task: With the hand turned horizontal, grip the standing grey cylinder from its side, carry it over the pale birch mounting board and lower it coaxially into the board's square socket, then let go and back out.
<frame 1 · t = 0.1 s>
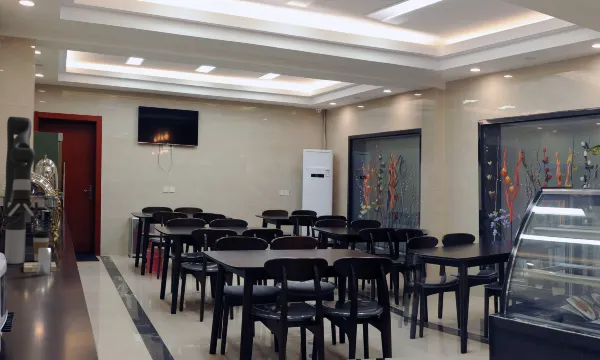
hand: (20, 224, 265), 22 cm above the table, tool pointing down, fingers open, 8 cm apart
grey cylinder: (43, 274, 263), on the table
mounting board: (39, 269, 277), on the table
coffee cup: (40, 260, 309), on the table
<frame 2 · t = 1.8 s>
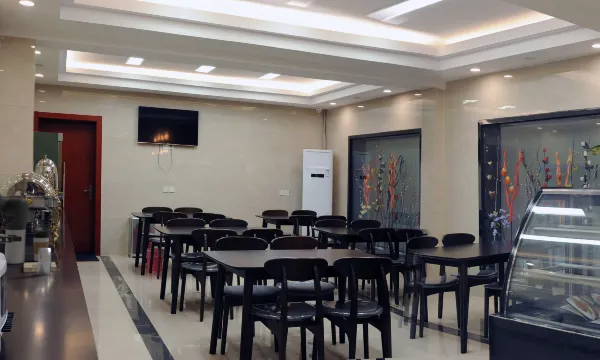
hand: (18, 238, 256), 17 cm above the table, tool horizontal, fingers open, 8 cm apart
nothing on the table moved.
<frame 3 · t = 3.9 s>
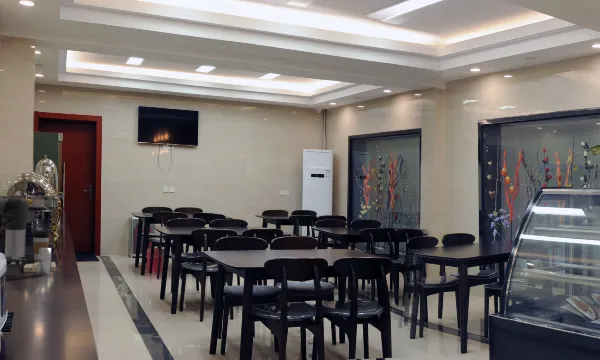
hand: (31, 260, 259), 7 cm above the table, tool horizontal, fingers open, 8 cm apart
nothing on the table moved.
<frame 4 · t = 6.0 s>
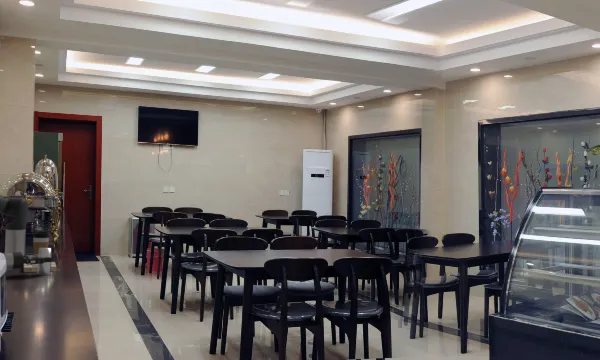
hand: (50, 258, 265), 7 cm above the table, tool horizontal, fingers closed on grey cylinder, 5 cm apart
grey cylinder: (43, 274, 263), on the table, touching gripper
everything else where it was.
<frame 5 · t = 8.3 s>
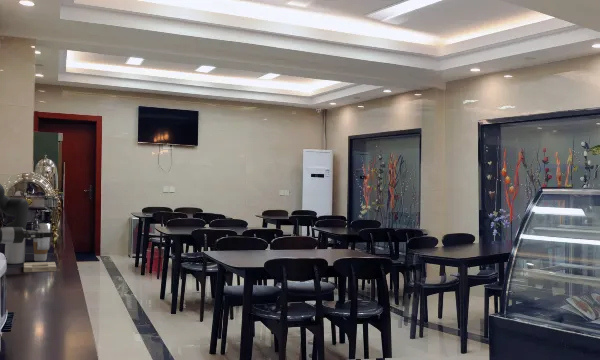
hand: (49, 234, 274), 18 cm above the table, tool horizontal, fingers closed on grey cylinder, 5 cm apart
grey cylinder: (43, 249, 272), point 10 cm above the table, touching gripper
everything else where it was.
when the fingers open (8 cm above the table, at t = 11.0 s): grey cylinder drops 1 cm, resting in mounting board.
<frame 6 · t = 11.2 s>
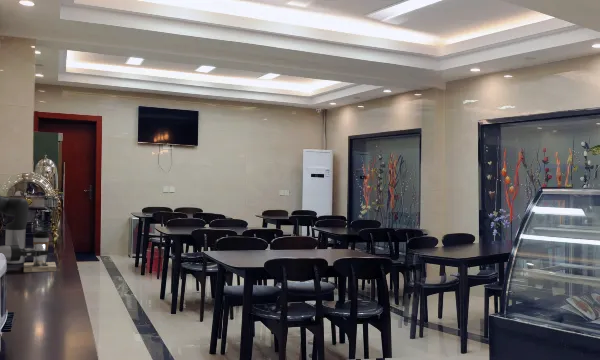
hand: (45, 251, 278), 8 cm above the table, tool horizontal, fingers open, 6 cm apart
grey cylinder: (39, 269, 277), resting in mounting board
everything else where it was.
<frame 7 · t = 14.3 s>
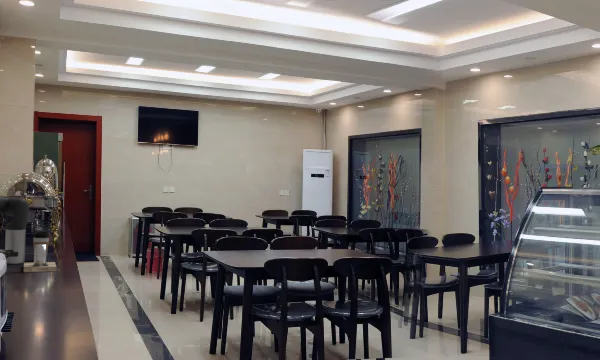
hand: (15, 253, 270), 9 cm above the table, tool horizontal, fingers open, 8 cm apart
nothing on the table moved.
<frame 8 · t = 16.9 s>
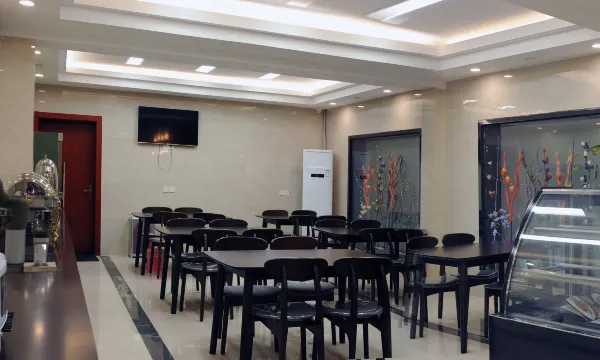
hand: (17, 211, 270), 28 cm above the table, tool horizontal, fingers open, 8 cm apart
nothing on the table moved.
at the end: grey cylinder 0.1 cm off-centre on the mounting board, point 0.0 cm above the mounting board's base; grey cylinder tilted 0°; the gripper is holding nothing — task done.
